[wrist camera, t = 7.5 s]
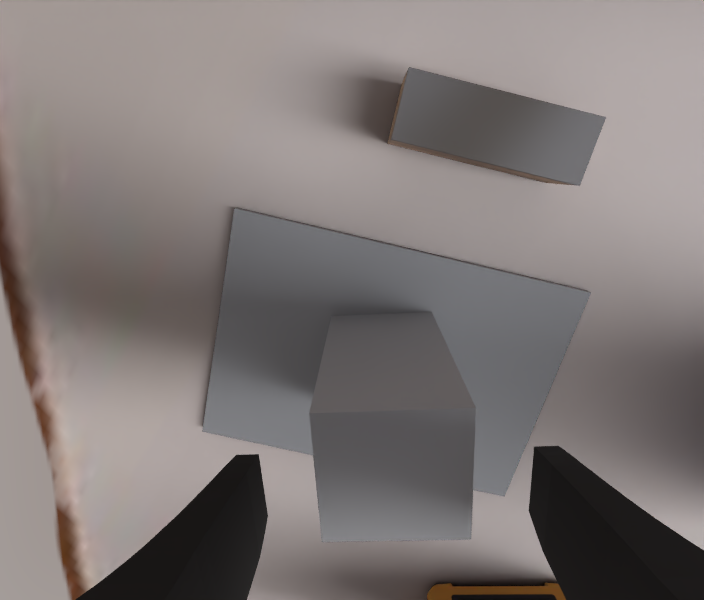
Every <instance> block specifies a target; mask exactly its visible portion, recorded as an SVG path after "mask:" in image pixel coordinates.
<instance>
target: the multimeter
mask: <svg viewBox="0 0 704 600" xmlns="http://www.w3.org/2000/svg"><path fill="white" fill-rule="evenodd" d="M427 600H566V598H565V596H564V594H563V592H562V590H561V588H560V586H559V584H557V583H545V584H544V586H452V584H451V583H446V584H436V585H434V586H433V587H432V588H431V589H430V591H429V592H428V594H427Z"/></svg>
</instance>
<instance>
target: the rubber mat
mask: <svg viewBox="0 0 704 600" xmlns="http://www.w3.org/2000/svg"><path fill="white" fill-rule="evenodd" d="M590 294H591V293H590V292H588V291H586V290H582V289H578V288H573V287H569V286H565V285H561V284H557V283H552V282H548V281H544V280H540V279H536V278H531V277H527V276H523V275H519V274H514V273H510V272H506V271H502V270H498V269H493V268H489V267H485V266H481V265H476V264H472V263H468V262H464V261H460V260H455V259H451V258H447V257H443V256H439V255H434V254H430V253H426V252H422V251H417V250H413V249H409V248H405V247H401V246H396V245H392V244H388V243H384V242H379V241H375V240H371V239H367V238H363V237H358V236H354V235H350V234H346V233H342V232H337V231H333V230H329V229H325V228H320V227H316V226H312V225H308V224H304V223H299V222H295V221H291V220H287V219H282V218H278V217H274V216H270V215H266V214H261V213H257V212H253V211H249V210H245V209H240V208H234V214H233V221H232V228H231V235H230V242H229V249H228V256H227V263H226V270H225V277H224V284H223V291H222V298H221V305H220V312H219V319H218V326H217V333H216V340H215V347H214V354H213V360H212V367H211V374H210V381H209V388H208V395H207V402H206V409H205V416H204V423H203V430H202V432H207V433H212V434H216V435H221V436H226V437H230V438H235V439H240V440H244V441H249V442H253V443H258V444H263V445H267V446H272V447H277V448H281V449H286V450H291V451H295V452H300V453H305V454H309V455H313V447H312V437H311V427H310V417H309V412H310V407H311V403H312V399H313V394H314V390H315V386H316V381H317V377H318V373H319V368H320V364H321V360H322V355H323V351H324V346H325V342H326V338H327V333H328V329H329V325H330V320H331V316H347V315H370V314H394V313H417V312H432V313H433V316H434V318H435V320H436V322H437V324H438V326H439V329H440V331H441V333H442V335H443V337H444V340H445V342H446V344H447V346H448V348H449V350H450V353H451V355H452V357H453V359H454V361H455V364H456V366H457V368H458V370H459V372H460V374H461V377H462V379H463V381H464V383H465V385H466V387H467V390H468V392H469V394H470V396H471V398H472V401H473V403H474V405H475V407H476V419H475V447H474V474H473V490H477V491H481V492H486V493H491V494H495V495H500V496H505V494H506V491H507V489H508V487H509V484H510V482H511V480H512V477H513V475H514V473H515V470H516V468H517V466H518V463H519V461H520V458H521V456H522V454H523V451H524V449H525V447H526V444H527V442H528V440H529V437H530V435H531V433H532V430H533V428H534V425H535V423H536V421H537V418H538V416H539V414H540V411H541V409H542V407H543V404H544V402H545V400H546V397H547V395H548V393H549V390H550V388H551V385H552V383H553V381H554V378H555V376H556V374H557V371H558V369H559V367H560V364H561V362H562V360H563V357H564V355H565V353H566V350H567V348H568V345H569V343H570V341H571V338H572V336H573V334H574V331H575V329H576V327H577V324H578V322H579V320H580V317H581V315H582V312H583V310H584V308H585V305H586V303H587V301H588V298H589V296H590Z"/></svg>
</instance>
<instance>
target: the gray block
mask: <svg viewBox="0 0 704 600" xmlns="http://www.w3.org/2000/svg"><path fill="white" fill-rule="evenodd" d="M309 417H310V427H311V437H312V447H313V457H314V467H315V477H316V487H317V498H318V508H319V518H320V528H321V538H322V542H356V541H412V540H468V539H471V530H472V502H473V474H474V447H475V419H476V407H475V405H474V403H473V401H472V398H471V396H470V394H469V392H468V390H467V387H466V385H465V383H464V381H463V379H462V377H461V374H460V372H459V370H458V368H457V366H456V364H455V361H454V359H453V357H452V355H451V353H450V350H449V348H448V346H447V344H446V342H445V340H444V337H443V335H442V333H441V331H440V329H439V326H438V324H437V322H436V320H435V318H434V316H433V313H432V312H417V313H394V314H370V315H347V316H331V320H330V325H329V329H328V333H327V338H326V342H325V346H324V351H323V355H322V360H321V364H320V368H319V373H318V377H317V381H316V386H315V390H314V394H313V399H312V403H311V407H310V412H309Z"/></svg>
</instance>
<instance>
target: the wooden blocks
mask: <svg viewBox="0 0 704 600" xmlns="http://www.w3.org/2000/svg"><path fill="white" fill-rule="evenodd" d="M605 119H606V117H603V116H599V115H595V114H591V113H587V112H583V111H580V110H576V109H572V108H568V107H564V106H560V105H556V104H552V103H548V102H544V101H540V100H536V99H532V98H528V97H525V96H521V95H517V94H513V93H509V92H505V91H501V90H497V89H493V88H489V87H485V86H481V85H477V84H473V83H470V82H466V81H462V80H458V79H454V78H450V77H446V76H442V75H438V74H434V73H430V72H426V71H422V70H419V69H415V68H411V67H409V68H408V71H407V73H406V75H405V77H404V80H403V82H402V85H401V89H400V93H399V98H398V102H397V106H396V110H395V114H394V118H393V122H392V126H391V131H390V135H389V139H388V143H387V144H391V145H395V146H399V147H403V148H407V149H411V150H415V151H419V152H424V153H428V154H432V155H436V156H440V157H444V158H448V159H452V160H456V161H460V162H464V163H468V164H472V165H476V166H480V167H484V168H488V169H492V170H496V171H501V172H505V173H509V174H513V175H517V176H521V177H525V178H529V179H533V180H537V181H541V182H545V183H554V184H566V185H578V186H580V184H581V181H582V178H583V176H584V173H585V171H586V168H587V165H588V163H589V160H590V158H591V155H592V152H593V150H594V147H595V145H596V142H597V139H598V137H599V134H600V132H601V129H602V126H603V124H604V121H605Z"/></svg>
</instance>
